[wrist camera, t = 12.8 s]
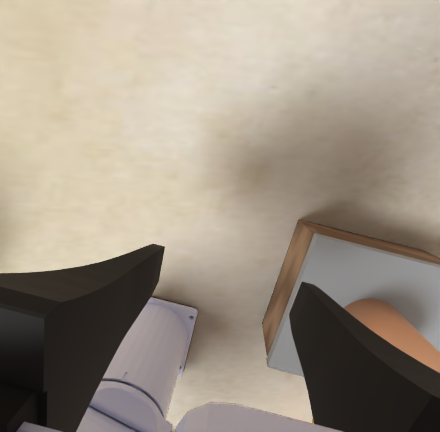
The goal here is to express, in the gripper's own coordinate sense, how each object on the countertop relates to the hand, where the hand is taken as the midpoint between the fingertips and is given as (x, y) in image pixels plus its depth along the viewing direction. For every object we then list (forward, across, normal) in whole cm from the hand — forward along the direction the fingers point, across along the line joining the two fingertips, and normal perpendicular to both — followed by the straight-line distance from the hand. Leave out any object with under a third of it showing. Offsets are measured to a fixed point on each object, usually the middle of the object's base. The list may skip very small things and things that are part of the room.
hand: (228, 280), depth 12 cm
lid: (+6, -12, +4) cm, 14 cm away
